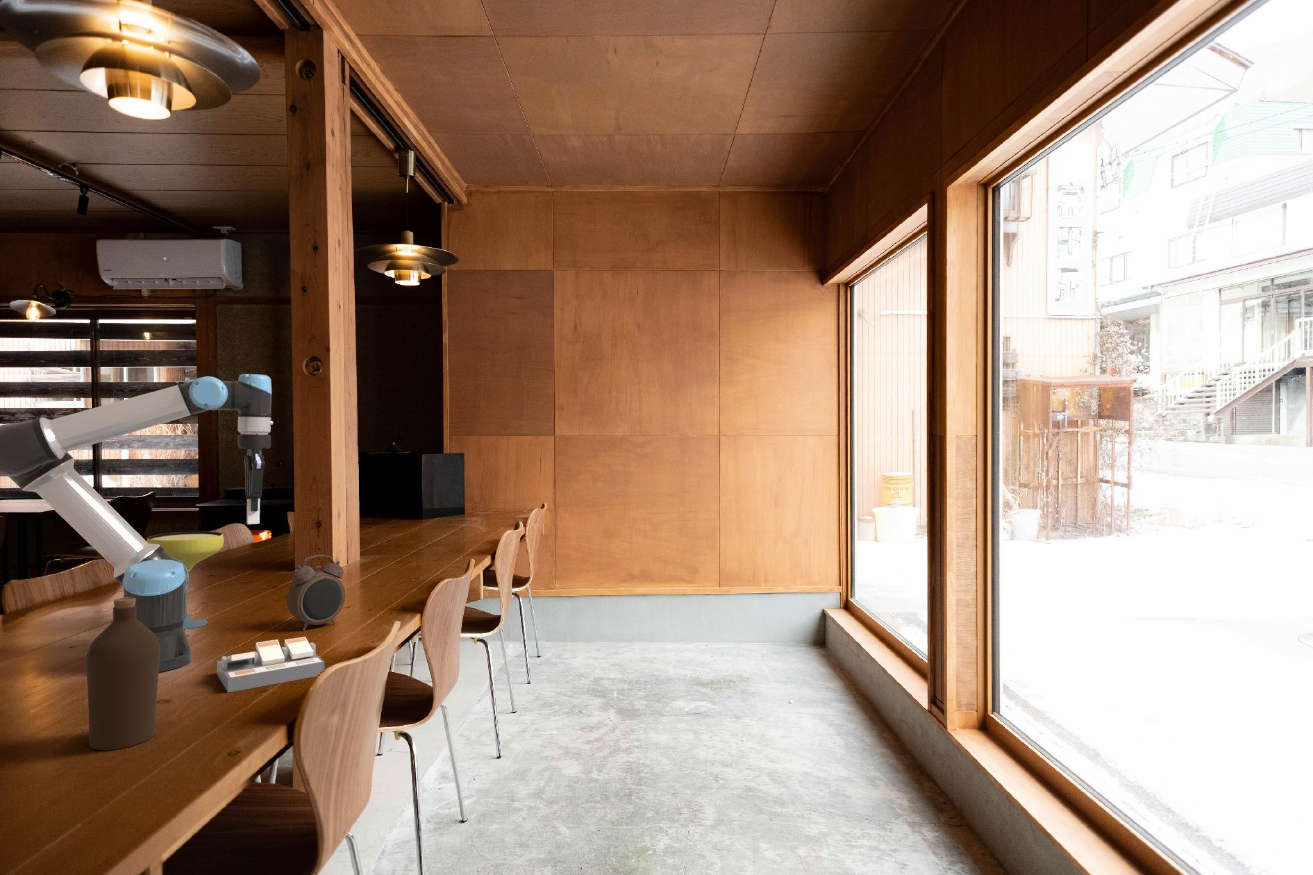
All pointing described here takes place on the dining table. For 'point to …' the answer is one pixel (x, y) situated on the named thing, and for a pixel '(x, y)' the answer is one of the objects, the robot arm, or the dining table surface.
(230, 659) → the left switch
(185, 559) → the cocktail glass
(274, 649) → the middle switch
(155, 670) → the olive oil
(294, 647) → the right switch
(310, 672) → the switch unit
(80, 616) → the dining table surface
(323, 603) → the alarm clock
